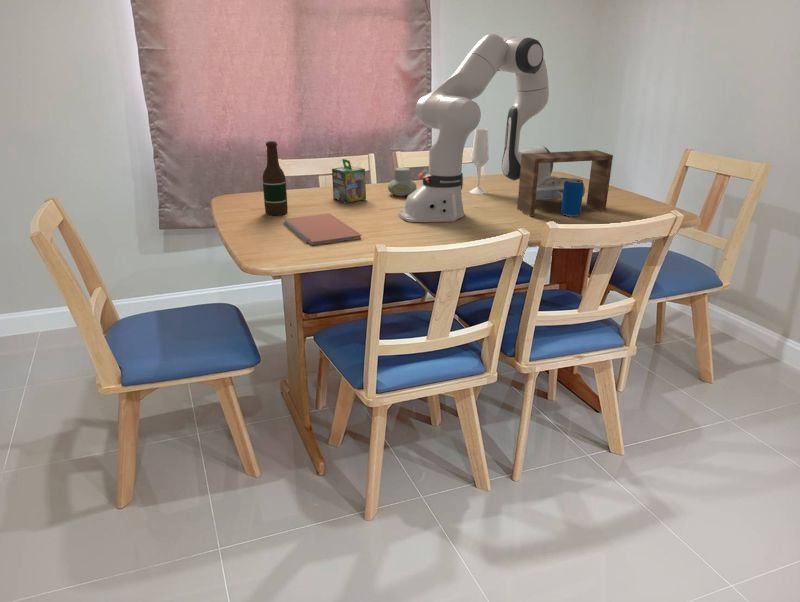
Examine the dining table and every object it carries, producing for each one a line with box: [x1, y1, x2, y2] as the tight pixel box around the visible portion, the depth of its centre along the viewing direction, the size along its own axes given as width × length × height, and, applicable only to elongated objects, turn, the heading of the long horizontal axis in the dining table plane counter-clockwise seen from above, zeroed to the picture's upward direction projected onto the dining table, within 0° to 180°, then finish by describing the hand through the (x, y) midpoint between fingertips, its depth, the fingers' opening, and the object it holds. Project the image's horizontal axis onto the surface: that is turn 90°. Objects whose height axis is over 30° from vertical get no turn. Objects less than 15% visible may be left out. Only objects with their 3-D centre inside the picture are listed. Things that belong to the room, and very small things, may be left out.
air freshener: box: [387, 166, 418, 198], centre depth 239 cm, size 11×8×10 cm
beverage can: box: [560, 177, 585, 218], centre depth 213 cm, size 6×6×12 cm
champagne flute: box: [469, 127, 490, 195], centre depth 241 cm, size 7×7×24 cm
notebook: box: [283, 213, 363, 246], centre depth 197 cm, size 27×17×2 cm, turn 27°
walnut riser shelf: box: [516, 149, 614, 217], centre depth 217 cm, size 29×10×20 cm, turn 106°
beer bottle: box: [262, 140, 289, 217], centre depth 210 cm, size 8×8×24 cm
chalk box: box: [331, 158, 367, 204], centre depth 231 cm, size 9×9×15 cm
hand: (567, 196), depth 216 cm, fingers closed, pressing on beverage can
